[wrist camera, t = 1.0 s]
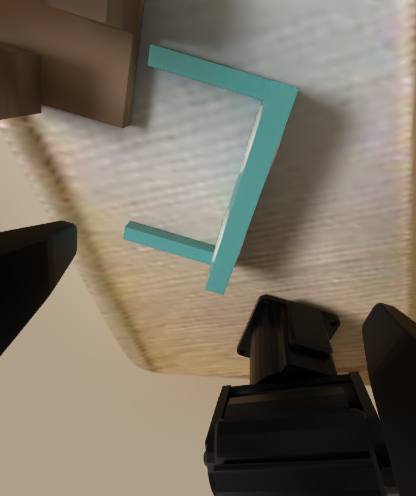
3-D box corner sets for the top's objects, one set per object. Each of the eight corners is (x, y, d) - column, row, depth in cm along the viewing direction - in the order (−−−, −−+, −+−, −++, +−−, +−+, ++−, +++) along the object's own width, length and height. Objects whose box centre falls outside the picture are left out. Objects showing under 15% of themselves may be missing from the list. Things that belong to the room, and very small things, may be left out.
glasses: (229, 262, 23) (225, 295, 20) (128, 232, 23) (106, 260, 19) (291, 86, 17) (301, 89, 14) (155, 45, 17) (130, 37, 13)
